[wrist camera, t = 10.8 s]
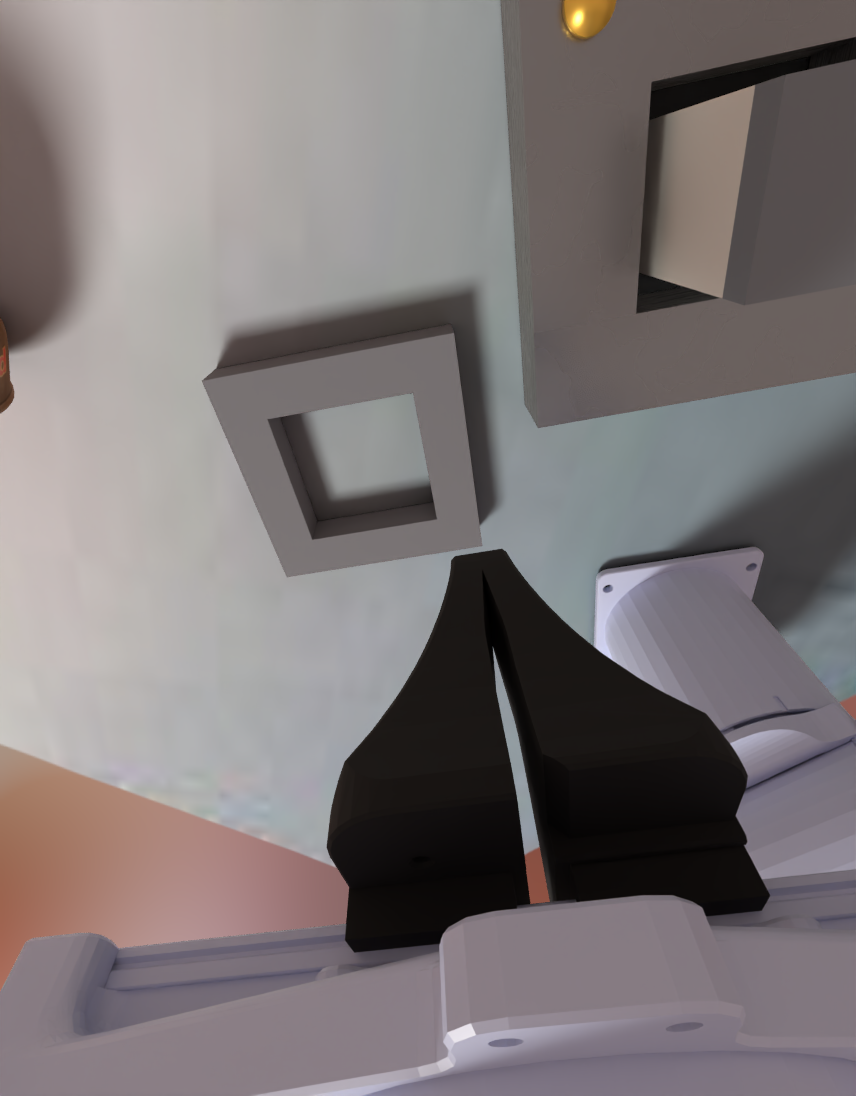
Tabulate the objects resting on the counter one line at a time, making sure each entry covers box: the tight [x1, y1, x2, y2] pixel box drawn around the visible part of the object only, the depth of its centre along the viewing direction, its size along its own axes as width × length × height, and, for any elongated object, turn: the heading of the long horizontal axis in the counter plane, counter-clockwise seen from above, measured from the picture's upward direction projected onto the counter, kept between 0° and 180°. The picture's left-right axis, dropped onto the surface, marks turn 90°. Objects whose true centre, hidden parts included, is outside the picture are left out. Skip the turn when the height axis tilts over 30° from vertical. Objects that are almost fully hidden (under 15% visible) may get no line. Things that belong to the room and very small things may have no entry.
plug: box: [639, 59, 856, 305], centre depth 13 cm, size 4×4×7 cm
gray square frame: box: [202, 324, 482, 577], centre depth 20 cm, size 9×9×2 cm
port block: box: [501, 0, 856, 428], centre depth 15 cm, size 12×12×3 cm
